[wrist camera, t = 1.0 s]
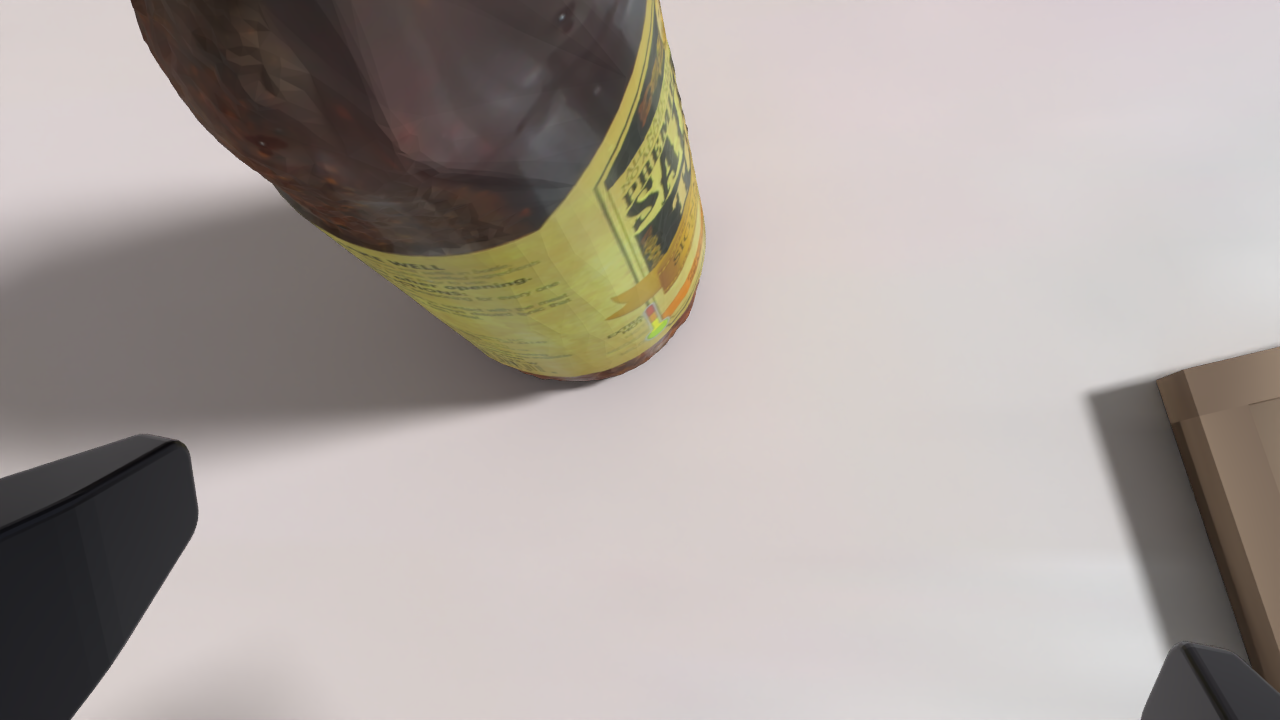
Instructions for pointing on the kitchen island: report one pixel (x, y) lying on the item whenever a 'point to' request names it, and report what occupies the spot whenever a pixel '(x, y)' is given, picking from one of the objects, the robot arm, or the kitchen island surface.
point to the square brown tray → (1237, 484)
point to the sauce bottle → (468, 156)
